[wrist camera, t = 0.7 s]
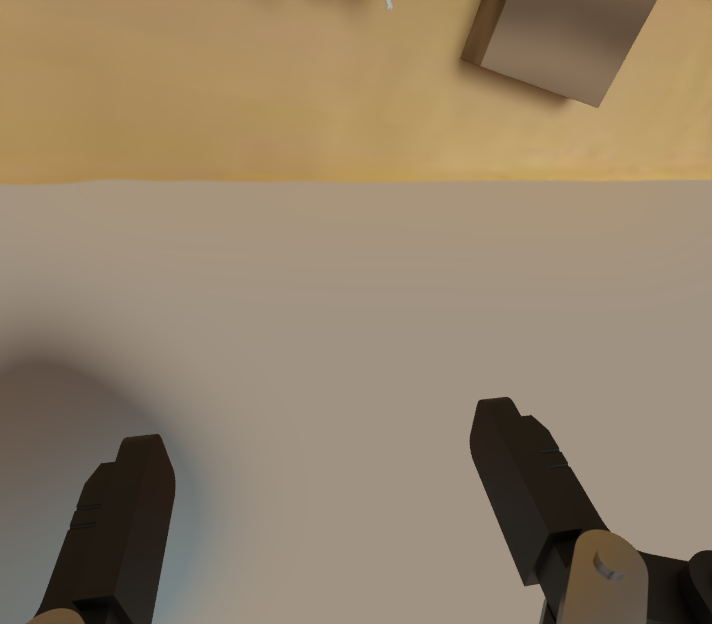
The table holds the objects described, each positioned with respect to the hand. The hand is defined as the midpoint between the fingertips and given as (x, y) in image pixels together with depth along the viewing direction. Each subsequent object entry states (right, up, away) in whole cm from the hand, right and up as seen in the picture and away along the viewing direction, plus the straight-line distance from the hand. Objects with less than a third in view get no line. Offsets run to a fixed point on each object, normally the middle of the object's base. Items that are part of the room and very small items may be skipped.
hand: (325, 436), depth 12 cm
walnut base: (+13, +23, +19) cm, 33 cm away
